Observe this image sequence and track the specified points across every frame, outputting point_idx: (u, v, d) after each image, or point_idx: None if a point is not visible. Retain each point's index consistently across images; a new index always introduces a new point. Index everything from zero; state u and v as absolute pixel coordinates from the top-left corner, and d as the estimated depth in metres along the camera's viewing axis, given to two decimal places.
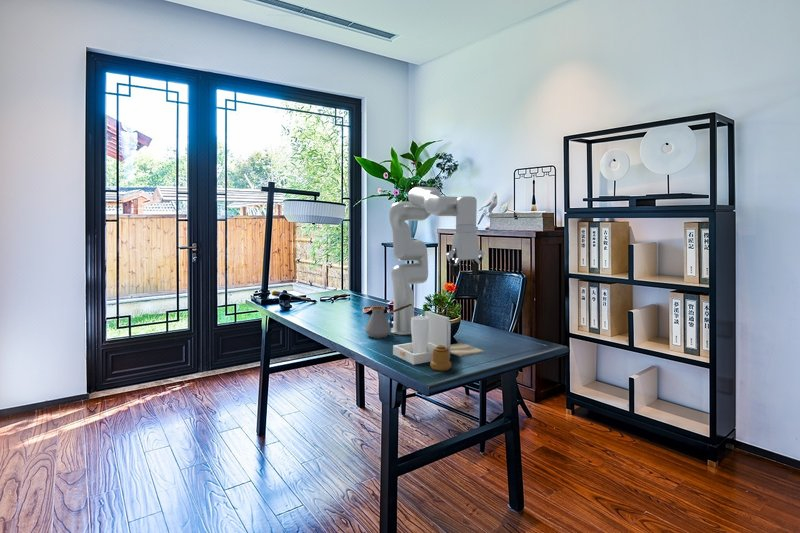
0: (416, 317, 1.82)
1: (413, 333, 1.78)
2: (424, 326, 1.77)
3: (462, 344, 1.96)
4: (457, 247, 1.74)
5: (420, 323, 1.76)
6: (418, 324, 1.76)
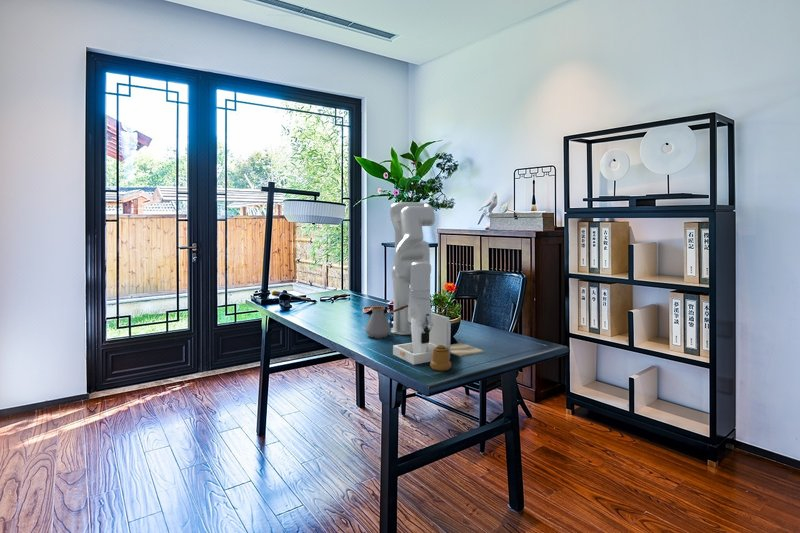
0: None
1: (413, 333, 1.78)
2: (424, 326, 1.77)
3: (462, 344, 1.96)
4: (430, 313, 1.76)
5: None
6: None
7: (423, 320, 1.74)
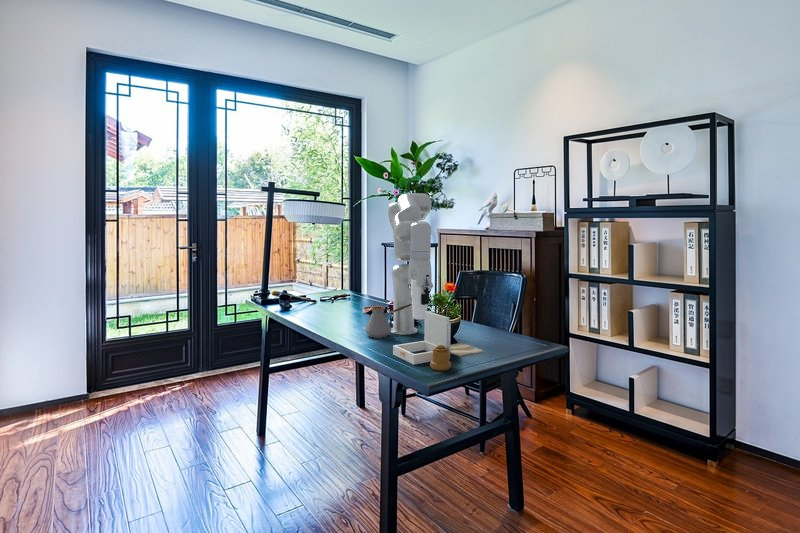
0: None
1: (413, 294, 1.77)
2: None
3: (462, 344, 1.96)
4: (430, 274, 1.75)
5: None
6: None
7: (423, 281, 1.73)
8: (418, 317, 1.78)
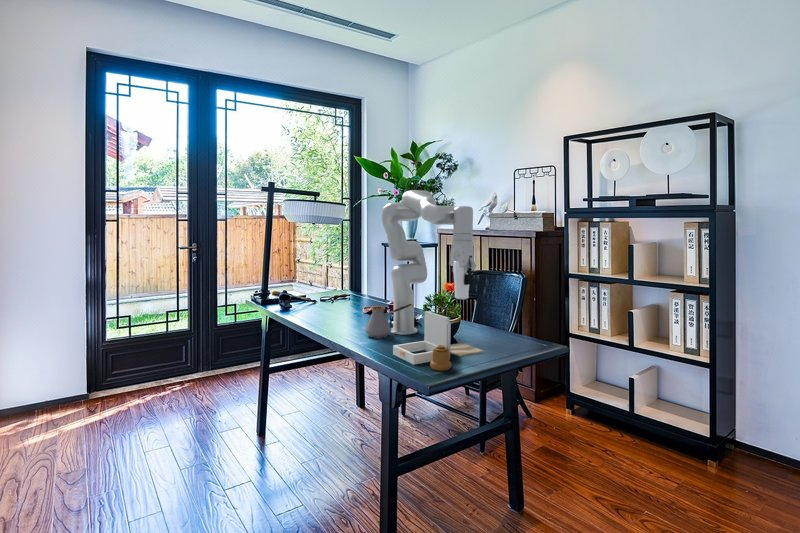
0: None
1: (456, 275, 1.85)
2: (467, 268, 1.84)
3: (462, 344, 1.96)
4: (472, 255, 1.82)
5: None
6: None
7: (466, 261, 1.81)
8: (461, 297, 1.85)
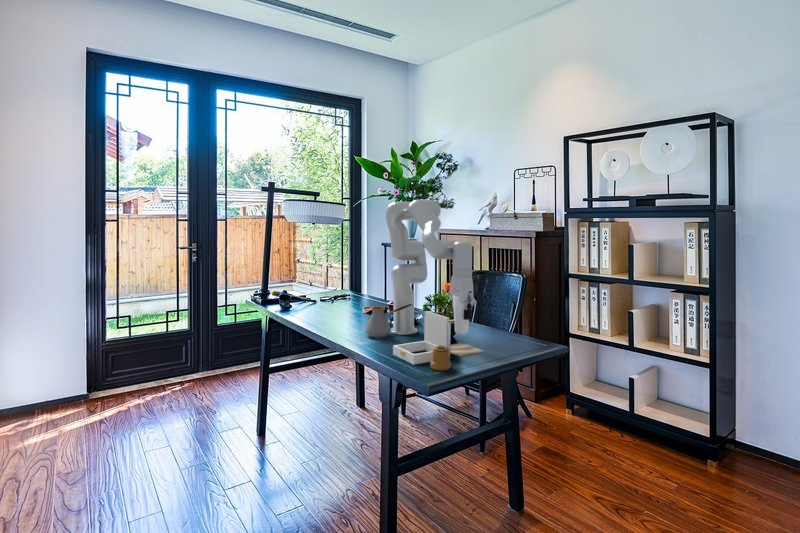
0: None
1: (455, 310, 1.86)
2: None
3: (462, 344, 1.96)
4: (472, 290, 1.84)
5: None
6: None
7: (466, 297, 1.82)
8: (460, 331, 1.86)
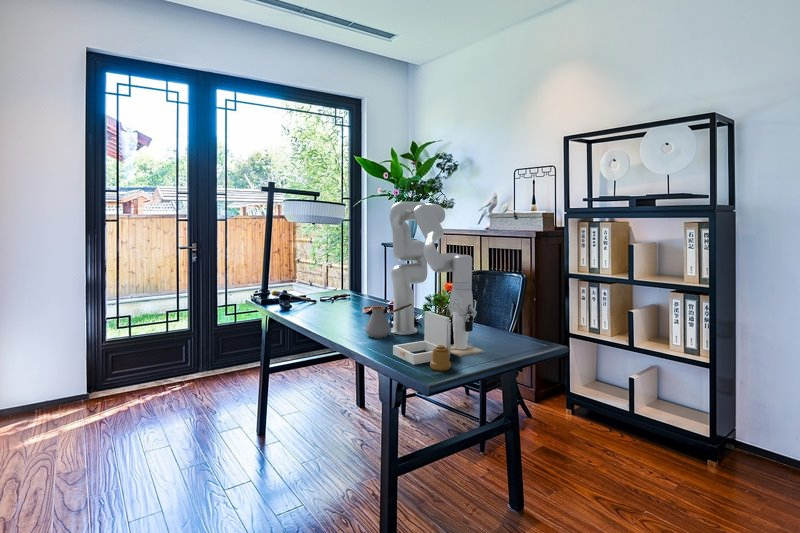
0: None
1: (455, 326, 1.87)
2: None
3: None
4: (472, 304, 1.84)
5: (462, 316, 1.85)
6: (460, 317, 1.85)
7: (466, 310, 1.83)
8: (460, 348, 1.87)
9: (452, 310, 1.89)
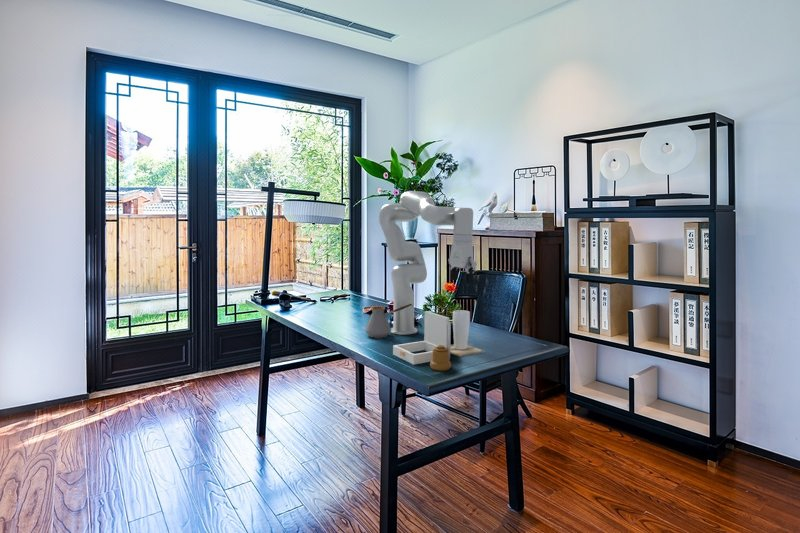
0: (457, 311, 1.91)
1: (455, 326, 1.87)
2: (466, 319, 1.86)
3: None
4: (472, 256, 1.85)
5: (462, 316, 1.85)
6: (460, 317, 1.85)
7: (466, 262, 1.84)
8: (460, 347, 1.87)
9: (452, 263, 1.90)
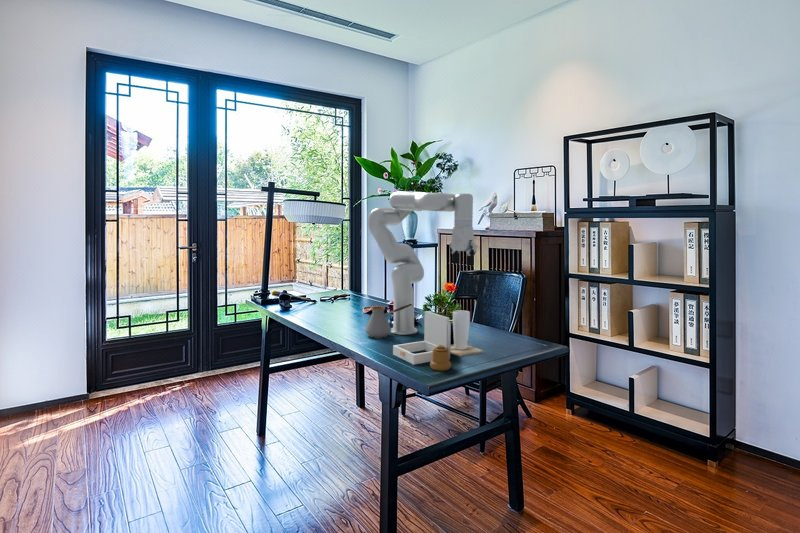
0: (457, 311, 1.91)
1: (455, 326, 1.87)
2: (466, 319, 1.86)
3: None
4: (472, 239, 1.94)
5: (462, 316, 1.85)
6: (460, 317, 1.85)
7: (467, 245, 1.93)
8: (460, 348, 1.87)
9: (454, 247, 1.99)
